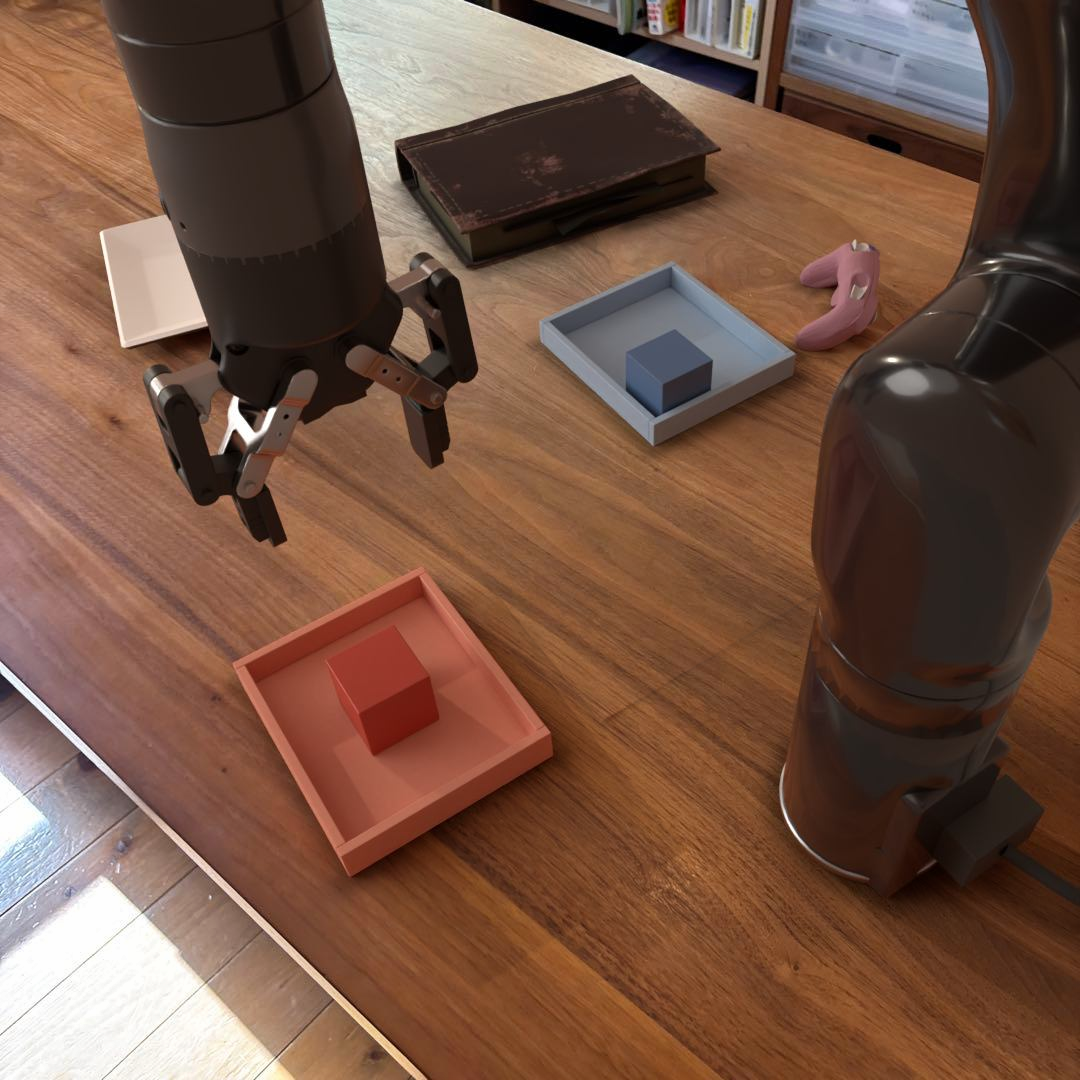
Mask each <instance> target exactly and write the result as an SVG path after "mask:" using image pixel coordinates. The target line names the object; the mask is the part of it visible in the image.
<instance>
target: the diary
mask: <svg viewBox="0 0 1080 1080" xmlns="http://www.w3.org/2000/svg"><path fill="white" fill-rule="evenodd" d="M393 143H394V145H393V146H394V151H395V153H394V154H395V160H396V164H397V170H398V175H399V179H400V182H401V184H402V185H403V186H404V188H405V189H406V190H407V192H408V193H409V195H410V196H411V198H412V199H413V201H414V202H415V203H416V205H417V206H418V207H419V208H420V210H421V212H422V213H423V215H425V217H426V218H427V220H428V221H429V222H430V224H431V225H432V226H433V229H435V231H436V232H437V234H438V235H439V236H440V238H441V239H442V240H443V242H444V243H445V245H446V246H447V247H448V248H449V250H450V251H451V252H452V253H453V255H454V256H455V257H456V259H457V260H458V261H459V262H460V264H461V265H462V267H465V268H468V269H479V268H482V267H487V266H490V265H494V264H497V263H500V262H501V263H502V262H504V261H507V260H510V259H515V258H518V257H521V256H525V255H527V254H531V253H533V252H534V253H535V252H538V251H540V250H543V249H546V248H550V247H552V246H555V245H558V244H562V243H564V242H567V241H570V240H572V239H575V238H578V237H581V236H584V235H586V234H590V233H593V232H596V231H601V230H606V229H609V228H613V227H616V226H620V225H624V224H626V223H627V224H628V223H629V222H632V221H636V220H639V219H641V218H644V217H645V216H646V215H648V214H652V213H656V212H662V211H666V210H670V209H674V208H677V207H680V206H683V205H686V204H690V203H693V202H697V201H700V200H703V199H706V198H709V197H712V196H715V195H718V194H719V191H718V190H716V188H714V186H712V185H711V184H710V183H709V182H708V181H707V180H706V161H707V156H709V155H712V154H716V153H719V152H721V151H722V148H721V147H720V146H719V145H718V144H717V143H715V142H714V141H713V140H712V139H711V138H710V137H709V136H708V135H707V134H705V132H704V131H702V130H701V129H700V128H699V127H698V126H697V125H696V124H694V123H693V122H692V121H691V120H689V118H688V117H686V116H685V115H684V114H683V113H682V112H680V110H678V109H677V108H676V107H675V106H674V105H672V104H671V103H669V102H668V101H667V100H666V99H664V97H662V96H661V95H659V94H658V93H656V92H655V90H653V89H651V88H650V87H649V86H648V85H646V84H644V82H641V81H640V79H638V78H637V77H636V76H635V75H634V74H633V73H631V74H627V75H624V76H620V77H618V78H614V79H610V80H608V81H604V82H602V83H598V84H595V85H592V86H589V87H586V88H583V89H579V90H576V91H572V92H569V93H566V94H562V95H561V94H560V95H558V96H553V97H550V98H545V99H541V100H537V101H533V102H529V103H525V104H521V105H517V106H513V107H510V108H506V109H503V110H501V111H497V112H493V113H491V114H488V115H484V116H481V117H478V118H476V119H472V120H469V121H466V122H462V123H459V124H455V125H452V126H448V127H443V128H440V129H435V130H431V131H427V132H423V133H418V134H414V135H410V136H406V137H402V138H398V139H394V142H393Z"/></svg>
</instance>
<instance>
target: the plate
mask: <svg viewBox="0 0 1080 1080" xmlns="http://www.w3.org/2000/svg"><path fill="white" fill-rule="evenodd" d="M99 237H100V242H101V248H102V253H103V258H104V264H105V269H106V275H107V279H108V284H109V289H110V294H111V300H112V305H113V310H114V315H115V320H116V326H117V331H118V335H119V336H118V337H119V342H120V347H121V348H124V349H127V350H133V349H138V348H140V347H144V346H148V345H151V344H156V343H159V342H162V341H163V342H164V341H166V340H170V339H174V338H178V337H182V336H185V335H188V334H192V333H196V332H200V331H203V330H209V327H208V324H207V321H206V318H205V315H204V313H203V310H202V307H201V304H200V301H199V299H198V296H197V293H196V290H195V287H194V285H193V282H192V279H191V276H190V274H189V271H188V268H187V265H186V263H185V260H184V257H183V254H182V252H181V249H180V246H179V244H178V241H177V238H176V235H175V232H174V230H173V227H172V224H171V221H170V220H169V219H168V217H167V215H165V214H161V215H158V216H154V217H153V216H152V217H150V218H146V219H142V220H137V221H133V222H130V223H125V224H121V225H117V226H113V227H109V228H105V229H103V230H101V231H100V232H99Z"/></svg>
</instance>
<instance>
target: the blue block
mask: <svg viewBox="0 0 1080 1080" xmlns="http://www.w3.org/2000/svg"><path fill="white" fill-rule="evenodd" d="M712 368H713V359H711V358H710V357H709V356H708V355H706V354H705V353H704V352H703V351H701V350H700V349H699V348H698V347H697V346H695V345H694V344H693V343H692V342H690V341H689V340H688V339H687V338H685V337H684V336H683V335H682V334H681V333H679V332H678V331H677V330H676V329H674V330H672V331H670V332H667V333H665V334H663V335H661V336H659V337H657V338H655V339H653V340H650V341H648V342H646V343H644V344H642V345H640V346H638V347H636V348H634V349H631V350H629V351H627V352H626V392H628V393H629V394H630V395H631V396H632V397H633V398H634V399H635V400H636V401H638V402H639V403H640V404H641V405H642V406H643V407H644V408H645V409H646V410H648V411H649V412H650V413H651V414H652V415H653V416H654V417H655V418H656V417H658V416H660V415H662V414H664V413H666V412H668V411H670V410H672V409H674V408H676V407H678V406H680V405H682V404H684V403H686V402H688V401H690V400H692V399H694V398H696V397H698V396H700V395H702V394H704V393H706V392H708V391H710V390H711V382H712Z"/></svg>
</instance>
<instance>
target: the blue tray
mask: <svg viewBox="0 0 1080 1080" xmlns="http://www.w3.org/2000/svg"><path fill="white" fill-rule="evenodd" d="M538 325H539V336H540V338H539V339H540V342H541V343H542V345H544V346H545V347H546V349H548V350H549V351H550V352H552V353H553V354H554V355H555V357H557V358H558V359H559V360H560V361H561V362H563V364H564V365H565V366H566V367H568V369H570V370H571V371H572V372H573V374H575V375H576V376H577V377H578V378H580V379H581V381H583V382H584V383H585V384H586V385H587V386H588V387H589V388H590V389H591V390H592V391H594V393H596V394H597V395H598V397H600V398H601V399H602V400H603V401H604V402H605V403H606V404H607V405H609V406H610V407H611V409H613V411H615V412H616V413H617V414H618V415H619V416H620V417H621V418H622V419H623V420H624V421H626V422H627V423H628V424H629V425H630V426H631V427H632V428H633V429H634V430H635V431H636V432H638V433H639V434H640V436H642V437H643V438H644V439H645V440H646V441H647V442H648V443H650V444H651V446H653V447H655V446H657V445H659V444H661V443H663V442H665V441H666V440H669V439H671V438H673V437H675V436H677V435H678V434H680V433H683V432H684V431H686V430H688V429H690V428H692V427H695V426H696V425H698V424H700V423H702V422H705V421H706V420H708V419H710V418H712V417H714V416H716V415H718V414H720V413H721V412H723V411H726V410H728V409H730V408H732V407H733V406H735V405H737V404H739V403H741V402H743V401H746V400H747V399H749V398H752V397H753V396H756V395H757V394H759V393H761V392H762V391H764V390H765V391H766V390H767V389H768V388H771V387H773V386H775V385H776V384H779V383H780V382H782V381H785V380H786V379H788V378H790V377H792V376H794V371H795V363H796V357H797V353H795V352H794V351H793V350H792V349H790V348H789V347H788V346H786V345H785V344H783V343H782V342H781V341H780V340H778V339H777V338H775V336H773V335H772V334H770V333H769V332H768V331H766V330H765V329H764V328H762V327H761V326H759V325H758V324H757V323H756V322H754V321H753V320H751V318H749V317H748V316H746V315H745V314H744V313H742V312H741V311H740V310H739V309H738V308H736V307H734V306H733V304H730V303H729V302H728V301H726V300H725V299H724V298H723V297H722V296H720V295H718V293H716V292H715V291H713V290H712V289H711V288H709V287H708V286H707V285H705V284H704V283H703V282H702V281H700V280H698V278H696V277H695V276H694V275H692V274H691V273H690V272H688V271H687V270H685V269H684V268H682V267H681V266H680V265H679V264H678V263H677V262H674V260H671V261H669V262H667V263H665V264H662V265H660V266H657V267H656V268H654V269H651V270H649V271H647V272H645V273H642V274H641V275H637V276H636V277H633V278H631V279H629V280H627V281H624V282H623V283H620V284H618V285H615V286H613V287H610V288H609V289H606V290H604V291H602V292H599V293H597V294H595V295H593V296H591V297H589V298H585V299H583V300H582V301H579V302H577V303H575V304H573V305H570V306H569V307H566V308H564V309H561V310H559V311H558V312H554V313H553V314H551V315H548V316H546V317H543V318H542V319H539V321H538ZM674 329H676V330H677V331H678V332H679V333H681V334H682V335H683V336H684V337H685V338H687V339H688V340H689V341H690V342H692V343H693V344H694V345H695V346H697V347H698V348H699V349H700V350H701V351H703V352H704V353H705V354H706V355H708V356H709V357H710V358H711V359H713V368H712V382H711V390H710V391H708V392H706V393H704V394H702V395H700V396H698V397H696V398H694V399H692V400H690V401H688V402H686V403H684V404H682V405H680V406H678V407H676V408H674V409H672V410H670V411H668V412H666V413H664V414H662V415H660V416H658V417H656V418H655V417H654V416H653V415H652V414H651V413H650V412H649V411H648V410H646V409H645V408H644V407H643V406H642V405H641V404H640V403H639V402H638V401H636V400H635V399H634V398H633V397H632V396H631V395H630V394H629V393H628V392H626V352H627V351H629V350H631V349H634V348H636V347H638V346H640V345H642V344H644V343H646V342H648V341H650V340H653V339H655V338H657V337H659V336H661V335H663V334H665V333H667V332H670V331H672V330H674Z"/></svg>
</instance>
